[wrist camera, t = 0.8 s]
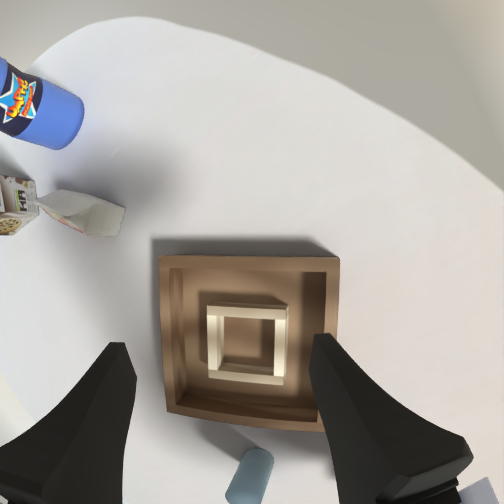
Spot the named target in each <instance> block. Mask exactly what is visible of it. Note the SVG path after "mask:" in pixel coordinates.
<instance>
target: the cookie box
mask: <svg viewBox="0 0 504 504" xmlns="http://www.w3.org/2000/svg"><path fill="white" fill-rule="evenodd" d="M33 199H37V198H36V191H35V183H34V181H32V180H26V179H21V178H15V177H10V176H4V175H0V235H14V234H15V233H16V232H17V231H19V230H20V229H21V228H22V227H24V226H25V225H26V224H27V223H29V222H30V221H31V220H33V219H34V218H35V217H36V216H38V215H39V211H38V205H36V204H34V203H36V202H35V201H34V200H33Z"/></svg>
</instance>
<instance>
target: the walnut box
mask: <svg viewBox="0 0 504 504" xmlns="http://www.w3.org/2000/svg"><path fill="white" fill-rule="evenodd" d="M339 279H340V258H339V257H293V256H231V255H162V256H159V298H160V324H161V343H162V359H163V372H164V384H165V395H166V405H167V412H170V413H174V414H179V415H184V416H189V417H194V418H200V419H205V420H211V421H217V422H223V423H230V424H237V425H245V426H253V427H261V428H271V429H282V430H295V431H311V432H325V429H324V425H323V422H322V419H321V416H320V413H319V410H318V407H317V404H316V401H315V398H314V395H313V391H312V386H311V381H310V375H309V364H310V358H311V351H312V345H313V338H314V334H321V333H330V334H332V336H333V337H334V338H335V339H336V340H337V324H338V305H339Z"/></svg>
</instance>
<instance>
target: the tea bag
mask: <svg viewBox="0 0 504 504" xmlns="http://www.w3.org/2000/svg"><path fill="white" fill-rule="evenodd" d="M33 200H34V201H35V202H36V203H34V204H36V205H38V206H39V207H41V208H42V209H43V210H44V211H45V212H46V213H47V214H49V215H50V216H51V217H52V218H53V219H55V220H57V221H59V222H61V223H63V224H65V225H67V226H69V227H71V228H73V229H75V230H77V231H79V232H81V233H83V234H86V235H88V236H118V233H119V230H120V226H121V223H122V219H123V216H124V213H125V210H126V208H124V207H121V206H118V205H116V204H113V203H111V202H108V201H105V200H103V199H100V198H98V197H95V196H93V195H90V194H85V193H79V192H74V191H69V190H63V189H59V190H57V191H54V192H52V193H50V194H48V195H46V196H43V197H41V198H38V199H33Z"/></svg>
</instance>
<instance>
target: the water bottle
mask: <svg viewBox="0 0 504 504" xmlns="http://www.w3.org/2000/svg"><path fill="white" fill-rule="evenodd" d="M83 118H84V104H83V102H82V100H81V99H80V98H79V97H77V96H75V95H74V94H72V93H70V92H68V91H66V90H64V89H62V88H60V87H58V86H56V85H54V84H52V83H50V82H48V81H46V80H44V79H42V78H40V77H36V76H32V75H29V74H25V73H22V72H21V71H19V70H18V69H17V68H15V67H14V66H12V65H10V64H9V63H8V62H7V61H6V60H5V59H3V58H1V57H0V131H2V132H4V133H6V134H7V135H9V136H11V137H14V138H17V139H20V140H24V141H27V142H30V143H34V144H37V145H40V146H44V147H47V148H50V149H54V150H59V149H62V148H64V147H66V146H67V145H68V144H70V142H71V141H72V140H73V139H74V138H75V136H76V135H77V133H78V131H79V129H80V127H81V125H82V121H83Z"/></svg>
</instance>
